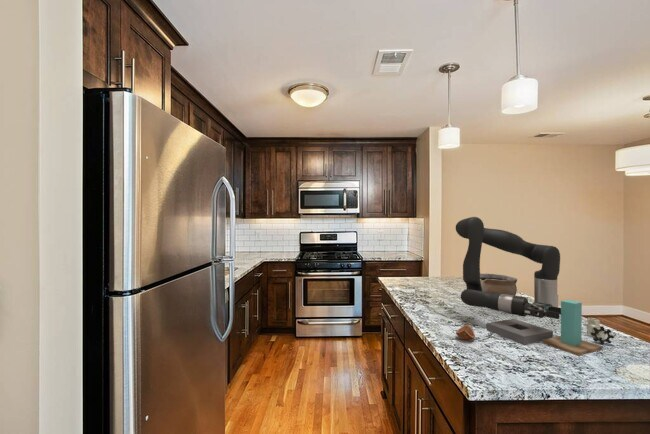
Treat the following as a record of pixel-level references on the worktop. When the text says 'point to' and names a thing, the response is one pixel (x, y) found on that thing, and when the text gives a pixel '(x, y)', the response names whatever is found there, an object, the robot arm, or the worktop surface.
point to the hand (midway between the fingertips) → (561, 313)
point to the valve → (597, 331)
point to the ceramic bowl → (498, 284)
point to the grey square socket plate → (519, 331)
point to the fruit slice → (465, 333)
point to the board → (576, 350)
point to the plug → (571, 322)
